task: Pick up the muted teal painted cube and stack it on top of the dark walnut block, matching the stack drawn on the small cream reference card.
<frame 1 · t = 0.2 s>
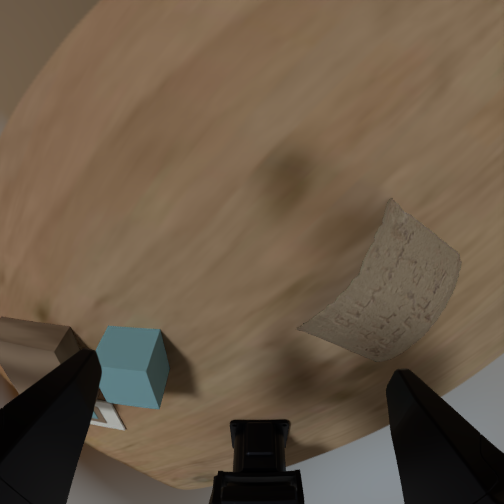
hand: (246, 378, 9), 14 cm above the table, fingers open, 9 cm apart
clay tablet: (381, 289, 25), on the table
walnut block: (50, 354, 30), on the table
teal cube: (139, 347, 28), on the table
reference card: (91, 410, 34), on the table
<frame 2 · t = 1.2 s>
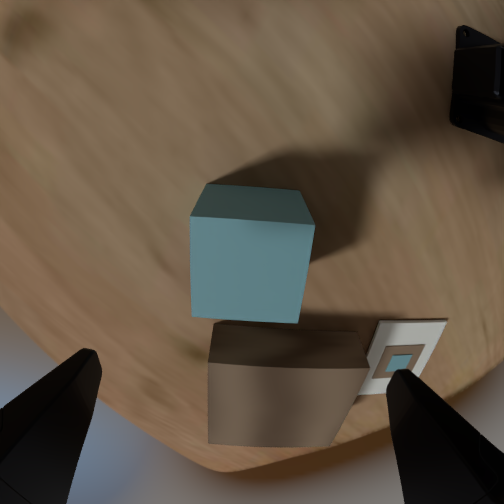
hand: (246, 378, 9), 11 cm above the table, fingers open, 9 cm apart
walnut block: (277, 374, 24), on the table
teal cube: (249, 229, 18), on the table
reference card: (397, 359, 23), on the table
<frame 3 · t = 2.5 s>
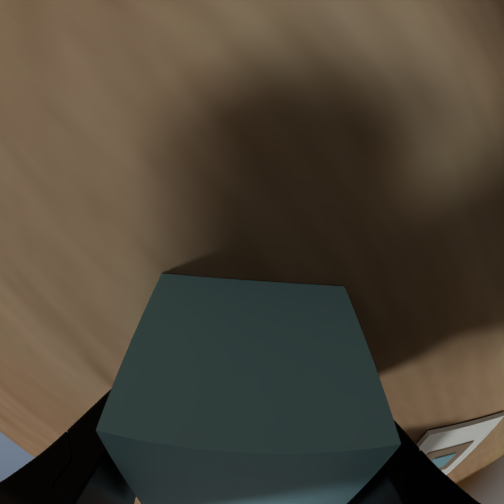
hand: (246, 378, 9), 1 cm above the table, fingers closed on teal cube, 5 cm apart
teal cube: (247, 348, 10), on the table, touching gripper
reference card: (437, 457, 15), on the table
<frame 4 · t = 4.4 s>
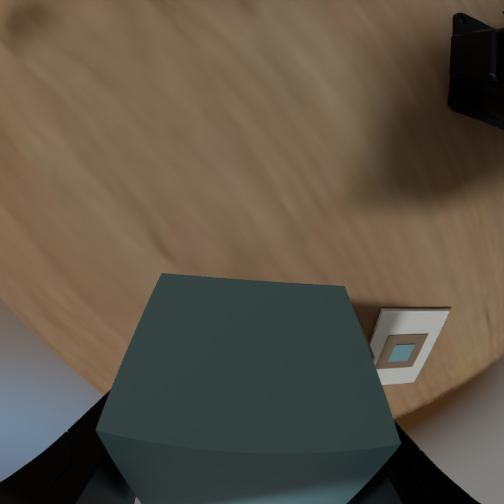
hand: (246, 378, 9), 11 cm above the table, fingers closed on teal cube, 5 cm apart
teal cube: (247, 348, 10), point 10 cm above the table, touching gripper
reference card: (399, 349, 23), on the table
when the fingers open (6 cm above the table, at t = 6.5 s): teal cube drops 2 cm, point 4 cm above the table.
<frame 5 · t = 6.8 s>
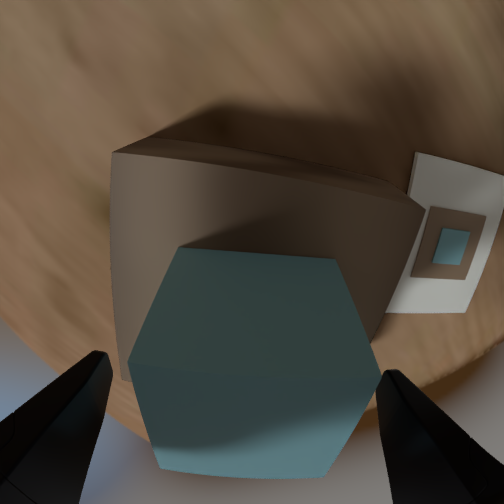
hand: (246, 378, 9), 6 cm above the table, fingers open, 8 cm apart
walnut block: (250, 261, 15), on the table
teal cube: (251, 316, 11), point 4 cm above the table
reference card: (447, 243, 14), on the table
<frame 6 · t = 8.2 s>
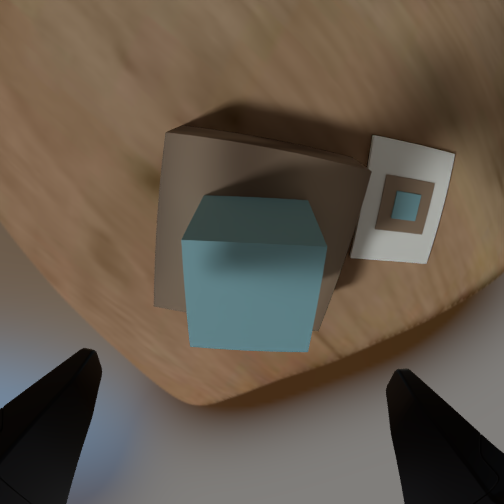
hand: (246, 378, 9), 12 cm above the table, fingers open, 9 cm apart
walnut block: (252, 216, 20), on the table, touching teal cube
teal cube: (253, 244, 17), point 4 cm above the table, touching walnut block
reference card: (403, 204, 19), on the table
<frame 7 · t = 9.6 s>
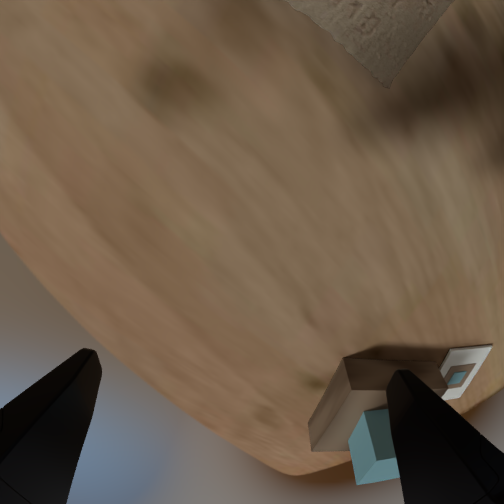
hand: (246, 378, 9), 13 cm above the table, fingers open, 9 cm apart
walnut block: (370, 392, 28), on the table
teal cube: (380, 424, 25), point 4 cm above the table
reference card: (455, 374, 27), on the table
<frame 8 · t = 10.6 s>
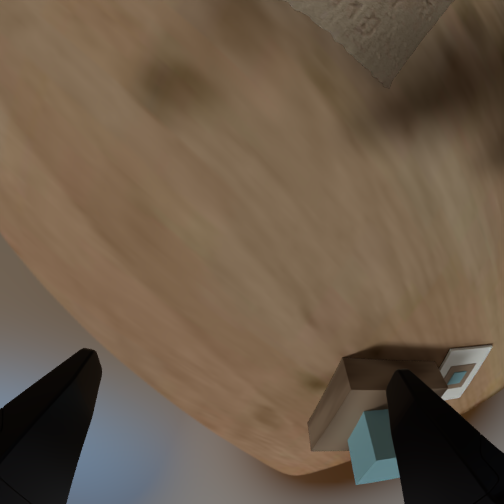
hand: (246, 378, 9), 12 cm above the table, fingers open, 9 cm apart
walnut block: (369, 392, 28), on the table, touching teal cube
teal cube: (380, 424, 25), point 4 cm above the table, touching walnut block
reference card: (455, 374, 27), on the table
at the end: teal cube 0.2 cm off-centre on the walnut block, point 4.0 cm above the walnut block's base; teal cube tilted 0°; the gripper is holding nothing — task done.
